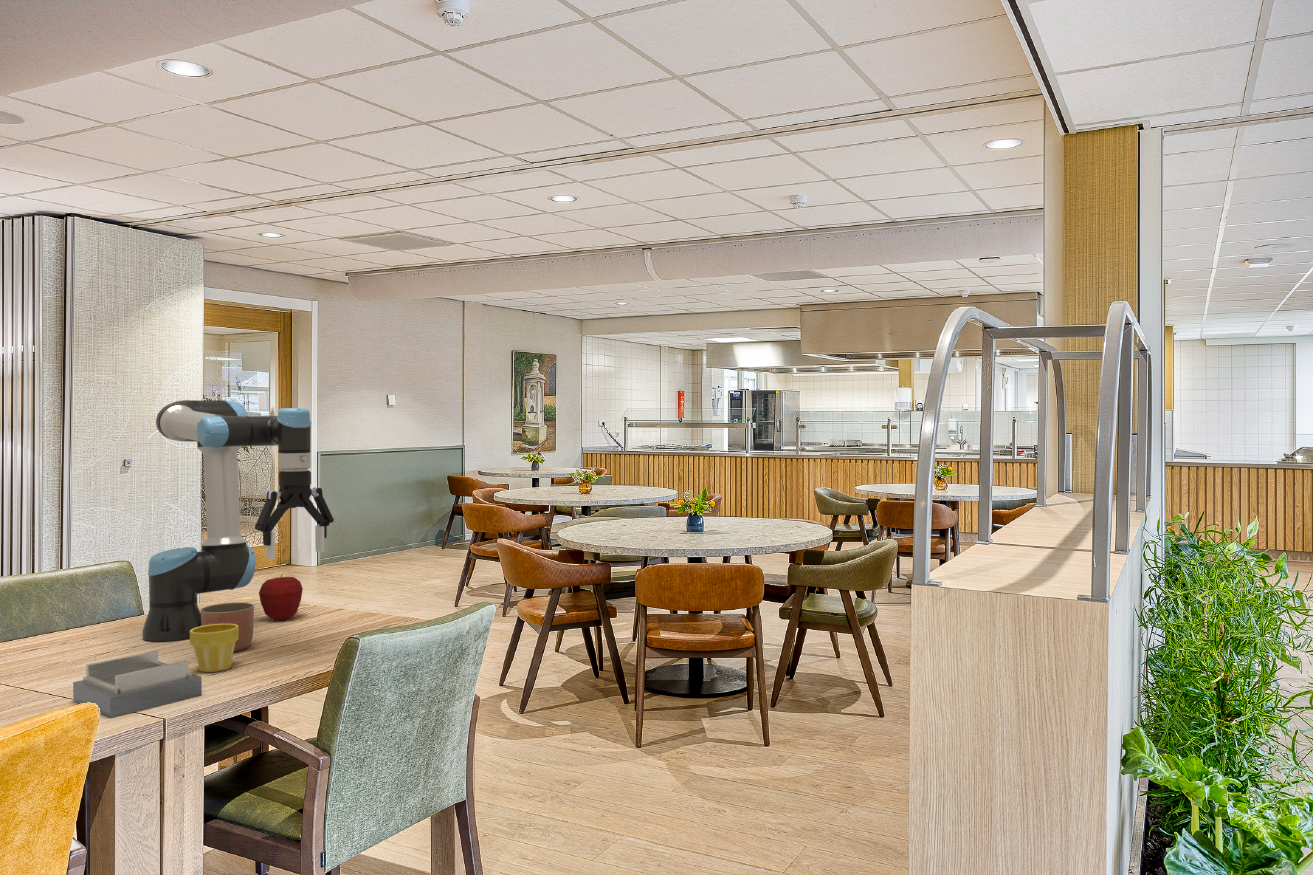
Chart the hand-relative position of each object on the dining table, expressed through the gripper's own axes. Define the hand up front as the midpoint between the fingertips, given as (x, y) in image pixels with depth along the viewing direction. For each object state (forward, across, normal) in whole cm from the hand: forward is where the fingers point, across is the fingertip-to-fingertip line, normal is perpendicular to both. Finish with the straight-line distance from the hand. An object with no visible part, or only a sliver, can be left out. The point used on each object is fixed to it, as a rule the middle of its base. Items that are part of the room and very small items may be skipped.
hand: (296, 555), depth 223 cm
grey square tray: (+25, -39, -2) cm, 47 cm away
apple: (+26, +21, +41) cm, 53 cm away
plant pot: (+25, -18, +6) cm, 32 cm away
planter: (+26, -6, +21) cm, 33 cm away
